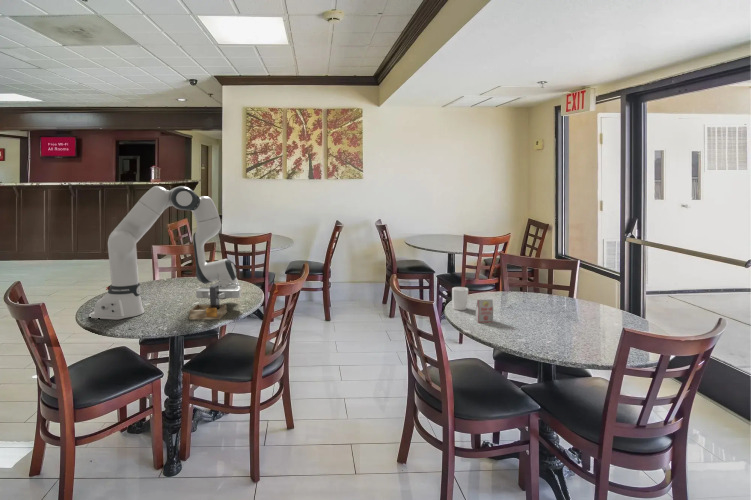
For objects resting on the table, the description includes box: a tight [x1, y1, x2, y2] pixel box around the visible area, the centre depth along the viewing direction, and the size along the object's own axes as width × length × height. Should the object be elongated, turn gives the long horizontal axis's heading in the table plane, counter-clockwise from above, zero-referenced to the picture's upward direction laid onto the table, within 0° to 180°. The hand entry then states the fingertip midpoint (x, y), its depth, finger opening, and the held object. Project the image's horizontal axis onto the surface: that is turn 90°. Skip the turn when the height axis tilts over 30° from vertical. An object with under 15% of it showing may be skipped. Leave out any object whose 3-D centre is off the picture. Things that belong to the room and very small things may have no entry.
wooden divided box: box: [188, 304, 228, 320], centre depth 212 cm, size 14×12×5 cm
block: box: [209, 284, 220, 310], centre depth 211 cm, size 2×5×12 cm, turn 2°
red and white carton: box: [475, 299, 494, 324], centre depth 207 cm, size 4×7×10 cm, turn 95°
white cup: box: [451, 286, 469, 311], centre depth 227 cm, size 8×8×10 cm
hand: (214, 297), depth 210 cm, fingers closed on block, 2 cm apart
